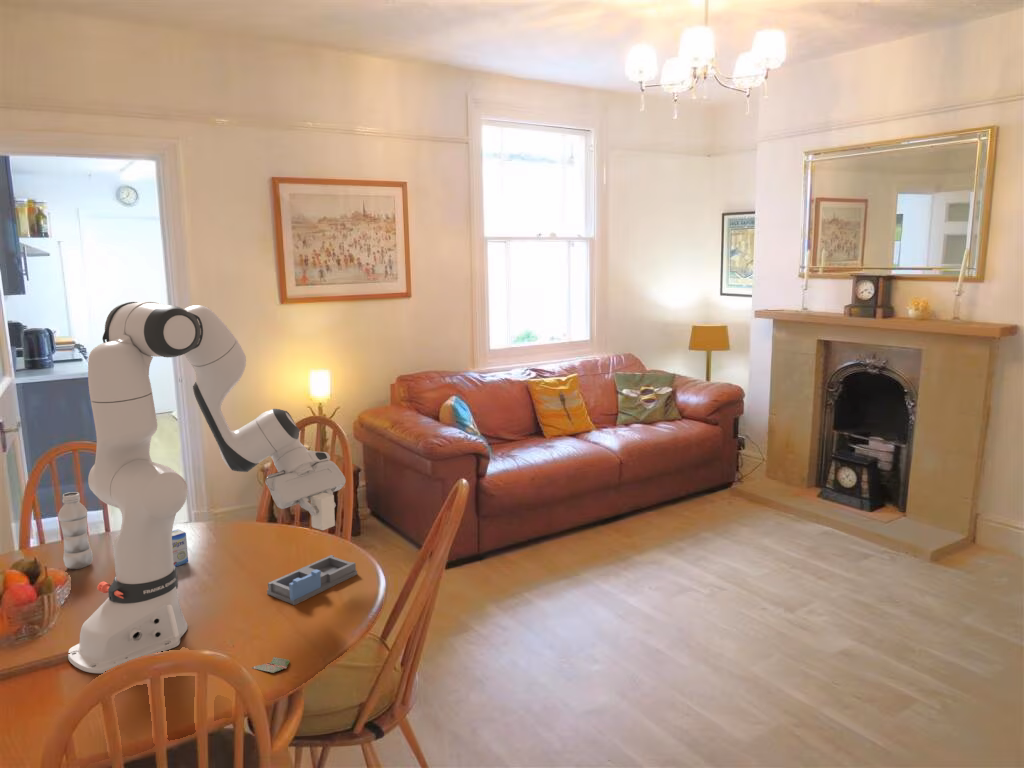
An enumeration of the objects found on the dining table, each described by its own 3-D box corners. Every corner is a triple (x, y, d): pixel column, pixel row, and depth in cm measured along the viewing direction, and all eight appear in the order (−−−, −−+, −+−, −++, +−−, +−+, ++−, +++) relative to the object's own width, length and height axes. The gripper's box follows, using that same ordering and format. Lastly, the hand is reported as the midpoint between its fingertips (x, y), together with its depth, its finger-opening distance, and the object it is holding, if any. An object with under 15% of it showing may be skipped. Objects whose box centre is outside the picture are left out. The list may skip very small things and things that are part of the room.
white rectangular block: (322, 530, 175) (321, 499, 174) (311, 527, 178) (310, 496, 176) (334, 525, 179) (333, 495, 177) (324, 522, 181) (322, 492, 180)
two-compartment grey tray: (296, 605, 166) (294, 582, 165) (267, 594, 172) (265, 571, 171) (358, 574, 182) (358, 553, 181) (330, 565, 188) (329, 544, 187)
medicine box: (159, 573, 184) (156, 541, 182) (151, 568, 186) (148, 537, 185) (189, 562, 190) (186, 532, 188) (180, 558, 192) (177, 528, 191)
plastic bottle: (84, 572, 184) (76, 498, 180) (58, 572, 184) (49, 498, 180) (99, 561, 190) (91, 490, 187) (74, 561, 190) (66, 490, 187)
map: (278, 678, 138) (277, 673, 138) (202, 654, 147) (201, 649, 147) (296, 664, 143) (295, 660, 142) (221, 642, 151) (220, 638, 151)
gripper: (267, 469, 171) (296, 516, 167) (332, 451, 188) (360, 493, 184) (256, 483, 174) (284, 530, 170) (321, 464, 191) (348, 506, 187)
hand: (324, 510), depth 177 cm, fingers closed on white rectangular block, 4 cm apart
